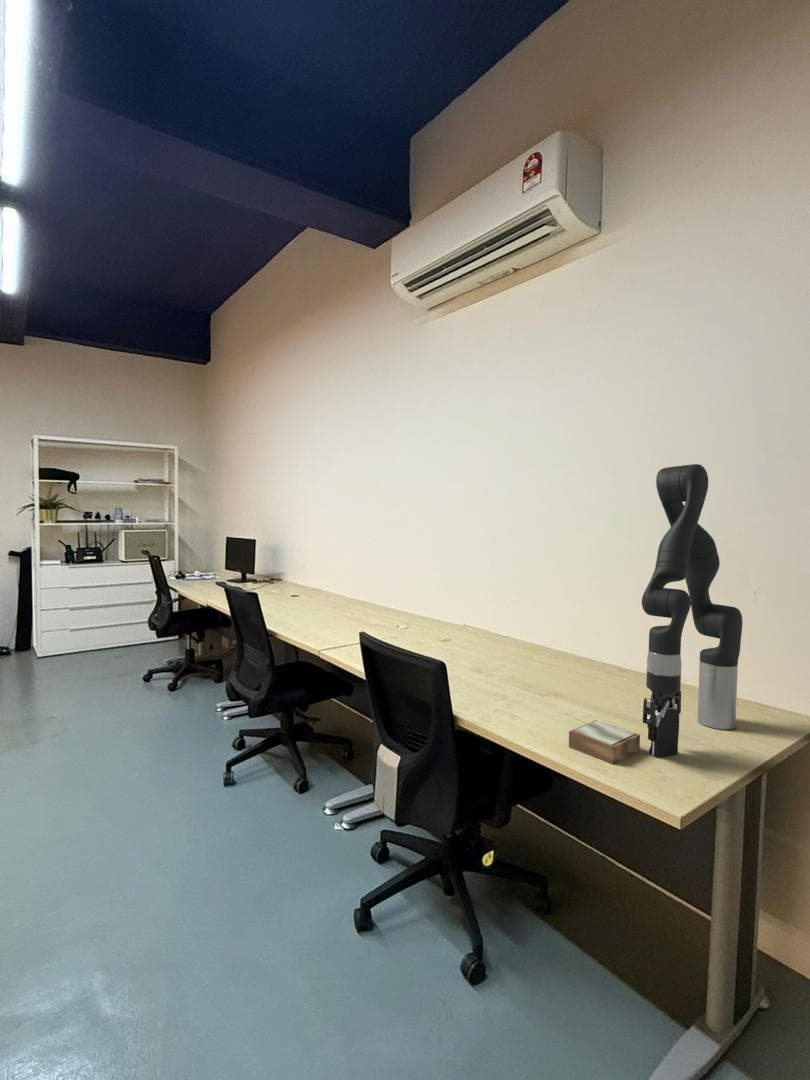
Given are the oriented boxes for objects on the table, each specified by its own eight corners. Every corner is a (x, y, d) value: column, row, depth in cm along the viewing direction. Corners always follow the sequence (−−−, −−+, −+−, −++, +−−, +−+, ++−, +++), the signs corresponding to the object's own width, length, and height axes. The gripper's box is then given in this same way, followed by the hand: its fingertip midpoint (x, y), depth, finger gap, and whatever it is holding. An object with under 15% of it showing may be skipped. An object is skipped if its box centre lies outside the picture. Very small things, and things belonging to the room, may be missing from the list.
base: (595, 735, 145) (596, 719, 145) (639, 750, 135) (639, 733, 135) (568, 747, 137) (569, 730, 137) (612, 764, 128) (613, 746, 128)
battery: (667, 748, 137) (669, 703, 136) (679, 754, 133) (680, 708, 133) (644, 751, 135) (645, 705, 135) (655, 758, 131) (656, 711, 131)
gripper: (662, 662, 141) (660, 724, 141) (633, 671, 132) (631, 738, 133) (693, 668, 135) (690, 734, 136) (664, 679, 126) (662, 749, 127)
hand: (661, 736), depth 134 cm, fingers open, 8 cm apart
